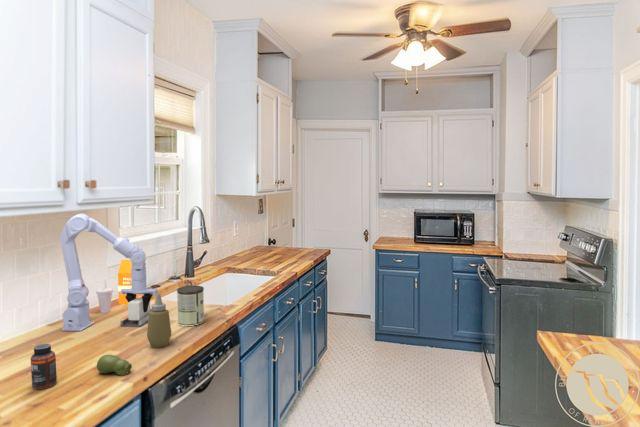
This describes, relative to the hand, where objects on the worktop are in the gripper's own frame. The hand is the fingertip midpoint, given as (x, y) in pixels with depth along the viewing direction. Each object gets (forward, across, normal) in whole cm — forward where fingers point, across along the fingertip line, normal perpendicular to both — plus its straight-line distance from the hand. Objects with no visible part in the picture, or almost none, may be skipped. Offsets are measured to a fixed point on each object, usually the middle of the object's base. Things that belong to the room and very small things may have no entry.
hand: (139, 311), depth 179 cm
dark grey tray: (+3, 0, 0) cm, 3 cm away
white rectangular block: (+2, 0, 0) cm, 2 cm away
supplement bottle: (+4, +1, +57) cm, 57 cm away
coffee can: (+4, -22, +2) cm, 22 cm away
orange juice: (+4, +16, -26) cm, 31 cm away
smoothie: (+4, +20, -10) cm, 23 cm away
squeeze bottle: (+4, -19, +26) cm, 32 cm away
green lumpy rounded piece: (+4, -14, +48) cm, 50 cm away
